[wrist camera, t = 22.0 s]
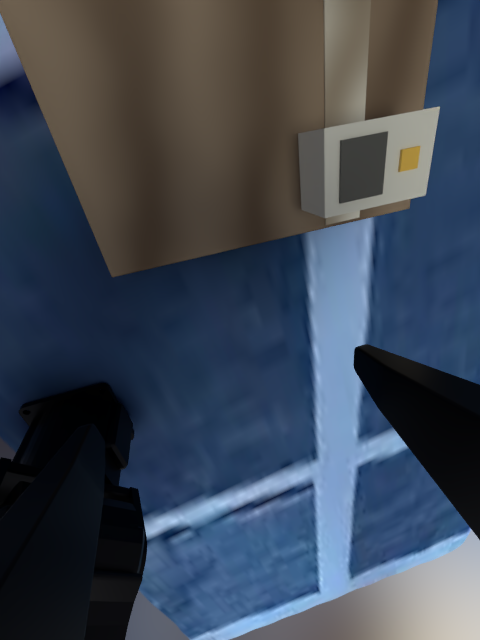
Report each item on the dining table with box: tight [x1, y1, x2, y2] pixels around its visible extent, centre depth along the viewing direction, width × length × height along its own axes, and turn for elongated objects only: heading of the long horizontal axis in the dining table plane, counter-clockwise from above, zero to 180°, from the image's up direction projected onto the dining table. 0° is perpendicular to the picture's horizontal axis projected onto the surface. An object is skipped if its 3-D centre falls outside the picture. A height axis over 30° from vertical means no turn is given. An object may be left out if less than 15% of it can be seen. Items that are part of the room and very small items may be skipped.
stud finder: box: [298, 107, 440, 218], centre depth 16 cm, size 6×4×3 cm, turn 99°
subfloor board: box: [0, 0, 438, 277], centre depth 15 cm, size 20×17×2 cm
